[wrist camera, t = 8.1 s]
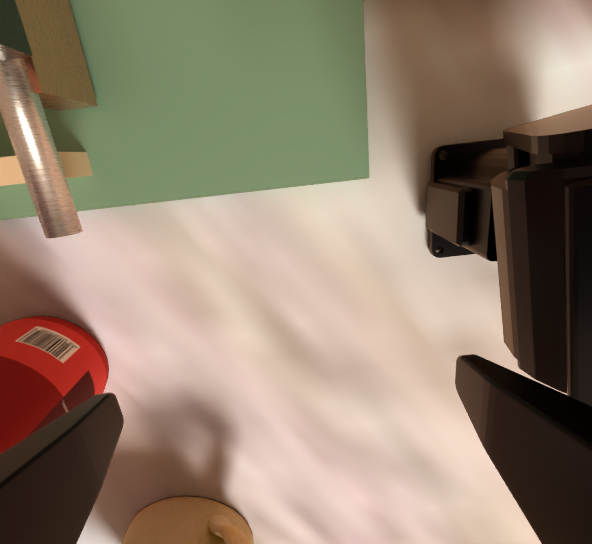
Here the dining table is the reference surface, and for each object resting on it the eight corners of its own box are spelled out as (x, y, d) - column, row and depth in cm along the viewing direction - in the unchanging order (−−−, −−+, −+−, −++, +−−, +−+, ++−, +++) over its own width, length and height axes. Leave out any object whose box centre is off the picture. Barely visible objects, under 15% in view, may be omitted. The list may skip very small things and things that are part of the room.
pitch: (350, -210, 14) (372, -338, 11) (365, 176, 20) (383, 182, 16) (-151, -143, 15) (-302, -245, 11) (-5, 218, 20) (-73, 234, 16)
